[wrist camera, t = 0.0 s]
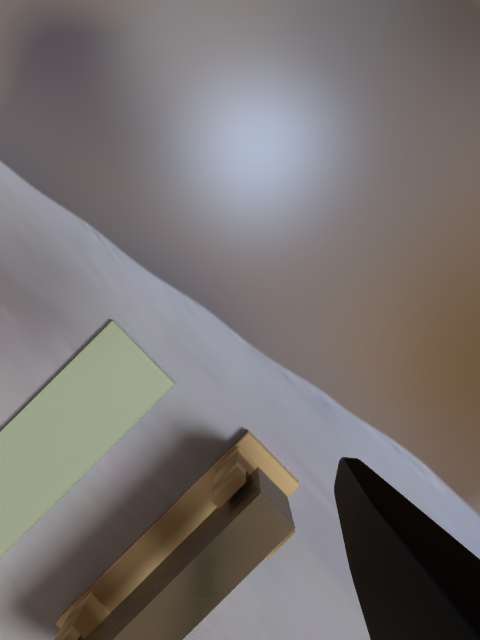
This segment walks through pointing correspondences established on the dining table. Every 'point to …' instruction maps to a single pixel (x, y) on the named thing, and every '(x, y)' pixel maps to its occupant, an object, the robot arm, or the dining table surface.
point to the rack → (173, 533)
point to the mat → (73, 426)
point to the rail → (203, 566)
